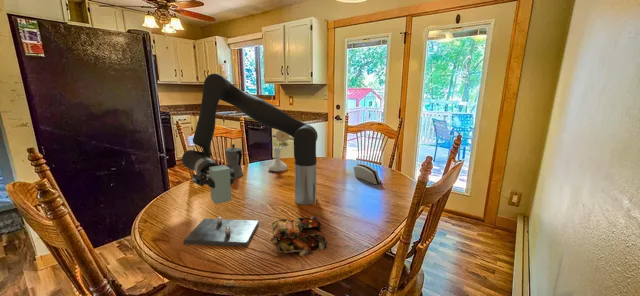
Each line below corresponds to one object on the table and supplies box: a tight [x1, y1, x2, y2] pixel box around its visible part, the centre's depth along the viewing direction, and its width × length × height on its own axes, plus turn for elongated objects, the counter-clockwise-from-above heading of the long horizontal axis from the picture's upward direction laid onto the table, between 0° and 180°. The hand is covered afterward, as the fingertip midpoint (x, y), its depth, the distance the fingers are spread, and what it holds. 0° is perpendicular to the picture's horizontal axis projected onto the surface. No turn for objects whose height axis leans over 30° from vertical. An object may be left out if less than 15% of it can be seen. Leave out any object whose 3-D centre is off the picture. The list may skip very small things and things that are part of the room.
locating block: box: [209, 164, 232, 205], centre depth 86 cm, size 5×5×11 cm
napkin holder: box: [353, 163, 383, 185], centre depth 145 cm, size 17×5×10 cm, turn 33°
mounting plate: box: [183, 216, 260, 248], centre depth 90 cm, size 20×14×4 cm
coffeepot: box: [224, 143, 244, 179], centre depth 146 cm, size 15×9×18 cm, turn 43°
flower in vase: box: [268, 130, 290, 172], centre depth 157 cm, size 13×11×25 cm
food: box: [270, 215, 328, 256], centre depth 89 cm, size 22×19×4 cm
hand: (222, 183), depth 84 cm, fingers closed on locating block, 5 cm apart
